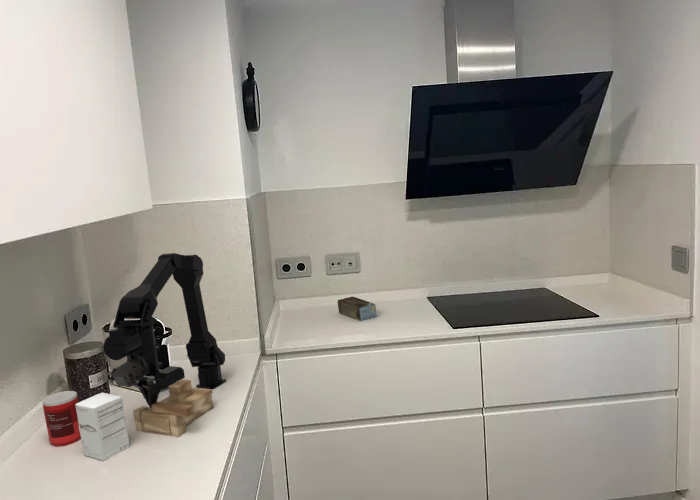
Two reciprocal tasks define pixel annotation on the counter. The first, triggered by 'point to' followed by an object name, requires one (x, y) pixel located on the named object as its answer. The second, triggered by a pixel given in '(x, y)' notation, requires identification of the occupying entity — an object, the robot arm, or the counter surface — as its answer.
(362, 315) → the beverage carton
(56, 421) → the canned food
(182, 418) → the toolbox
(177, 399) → the lid
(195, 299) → the robot arm
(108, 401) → the supplement box
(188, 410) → the brown wooden bar
